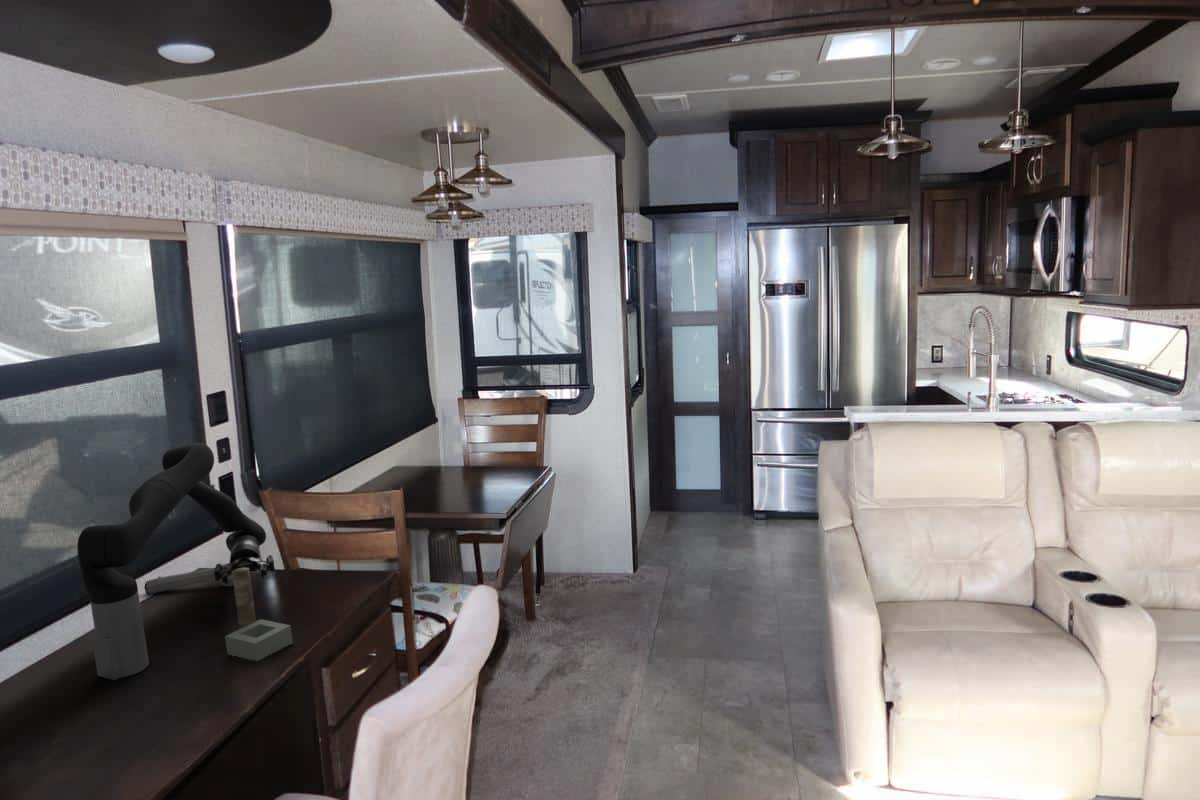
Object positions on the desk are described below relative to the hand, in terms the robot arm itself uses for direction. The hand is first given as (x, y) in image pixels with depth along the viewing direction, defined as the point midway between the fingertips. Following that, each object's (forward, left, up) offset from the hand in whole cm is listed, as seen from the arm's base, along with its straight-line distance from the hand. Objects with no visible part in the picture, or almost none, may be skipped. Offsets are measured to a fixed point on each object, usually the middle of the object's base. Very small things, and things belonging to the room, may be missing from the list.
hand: (244, 577), depth 215 cm
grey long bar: (+8, +32, -11) cm, 35 cm away
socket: (-12, -19, -10) cm, 25 cm away
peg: (-7, -9, -10) cm, 16 cm away
